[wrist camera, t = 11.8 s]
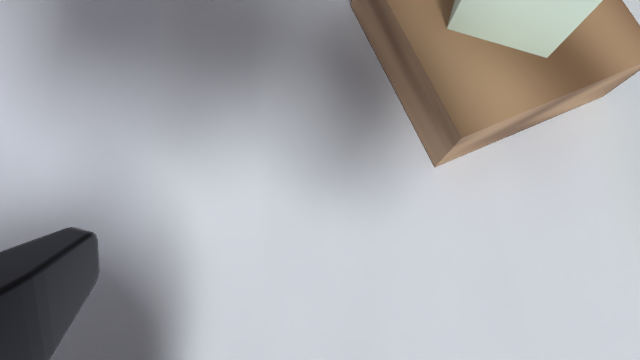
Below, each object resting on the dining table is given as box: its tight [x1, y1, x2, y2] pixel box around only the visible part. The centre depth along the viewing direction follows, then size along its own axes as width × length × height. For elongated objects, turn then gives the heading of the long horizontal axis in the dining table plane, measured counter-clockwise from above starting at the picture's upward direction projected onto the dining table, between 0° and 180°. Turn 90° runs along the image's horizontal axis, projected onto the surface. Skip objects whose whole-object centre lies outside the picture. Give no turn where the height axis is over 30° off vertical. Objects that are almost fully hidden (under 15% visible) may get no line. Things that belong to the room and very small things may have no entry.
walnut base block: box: [351, 0, 640, 167], centre depth 23 cm, size 10×10×4 cm
